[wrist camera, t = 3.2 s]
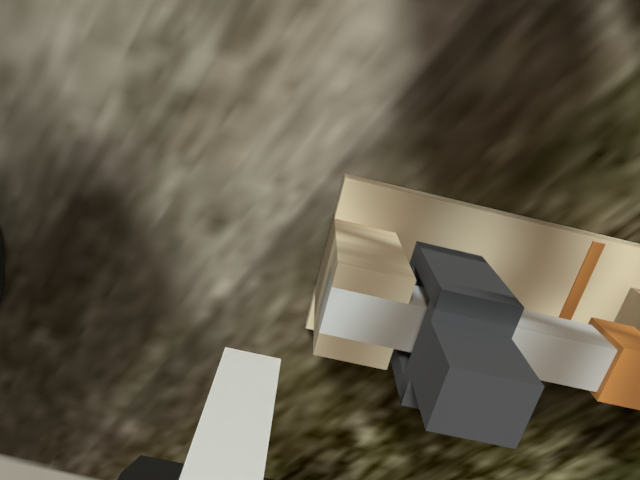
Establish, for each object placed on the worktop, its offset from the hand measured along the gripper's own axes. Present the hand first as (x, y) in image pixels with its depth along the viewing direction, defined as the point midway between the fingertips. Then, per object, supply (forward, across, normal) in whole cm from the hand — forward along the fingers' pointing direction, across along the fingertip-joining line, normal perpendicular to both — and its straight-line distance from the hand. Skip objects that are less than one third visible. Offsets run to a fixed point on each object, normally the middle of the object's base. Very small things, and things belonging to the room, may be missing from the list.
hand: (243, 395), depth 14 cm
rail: (+12, +11, 0) cm, 17 cm away
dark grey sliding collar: (+9, +7, 0) cm, 12 cm away
